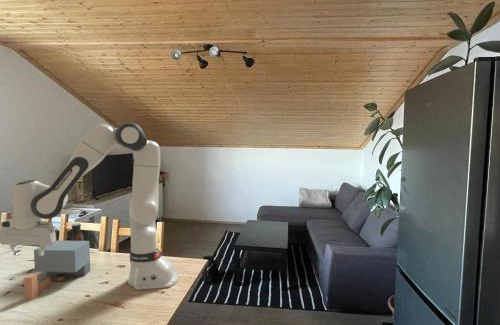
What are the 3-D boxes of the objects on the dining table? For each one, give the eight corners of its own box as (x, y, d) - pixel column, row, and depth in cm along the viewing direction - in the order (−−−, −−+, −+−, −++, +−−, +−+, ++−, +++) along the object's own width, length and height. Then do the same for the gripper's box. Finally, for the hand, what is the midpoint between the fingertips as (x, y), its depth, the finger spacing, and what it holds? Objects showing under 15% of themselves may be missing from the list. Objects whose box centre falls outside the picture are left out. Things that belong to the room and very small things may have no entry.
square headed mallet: (53, 284, 131) (52, 264, 130) (32, 299, 119) (31, 277, 118) (46, 283, 131) (45, 264, 130) (25, 299, 119) (24, 277, 118)
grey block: (90, 270, 144) (89, 240, 143) (76, 283, 132) (74, 250, 131) (53, 270, 144) (51, 240, 143) (35, 282, 132) (33, 250, 131)
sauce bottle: (82, 257, 159) (81, 221, 158) (87, 260, 155) (86, 223, 154) (69, 261, 154) (67, 224, 153) (73, 264, 150) (72, 226, 149)
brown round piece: (67, 278, 137) (67, 274, 137) (61, 283, 132) (61, 278, 132) (57, 278, 137) (57, 274, 137) (51, 283, 132) (51, 278, 132)
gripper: (59, 219, 121) (60, 252, 122) (8, 218, 120) (10, 251, 122) (48, 224, 114) (49, 258, 115) (-5, 222, 114) (-3, 257, 115)
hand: (29, 255), depth 118 cm, fingers open, 8 cm apart
